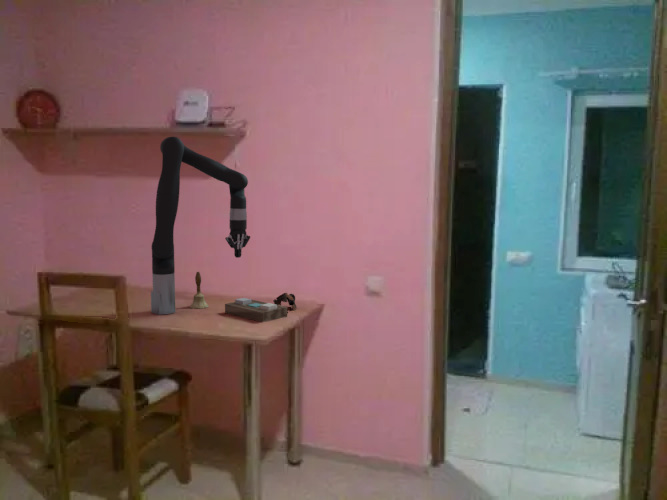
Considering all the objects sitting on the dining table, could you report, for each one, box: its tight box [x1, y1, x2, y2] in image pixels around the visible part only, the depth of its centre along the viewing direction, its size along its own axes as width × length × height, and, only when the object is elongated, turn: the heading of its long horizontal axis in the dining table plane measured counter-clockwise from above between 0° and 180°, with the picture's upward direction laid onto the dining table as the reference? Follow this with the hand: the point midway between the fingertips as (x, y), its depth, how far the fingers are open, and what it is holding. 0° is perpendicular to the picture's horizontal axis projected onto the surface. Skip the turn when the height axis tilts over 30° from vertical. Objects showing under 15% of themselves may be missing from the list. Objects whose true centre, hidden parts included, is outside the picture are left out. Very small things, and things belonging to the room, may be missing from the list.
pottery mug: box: [273, 292, 297, 311], centre depth 276 cm, size 12×10×8 cm
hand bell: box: [189, 271, 209, 310], centre depth 276 cm, size 8×8×16 cm
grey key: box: [234, 297, 253, 305], centre depth 268 cm, size 5×5×2 cm
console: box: [224, 299, 288, 323], centre depth 263 cm, size 14×24×4 cm, turn 50°
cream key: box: [260, 302, 277, 311], centre depth 258 cm, size 5×5×2 cm
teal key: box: [248, 303, 262, 308], centre depth 263 cm, size 5×5×2 cm
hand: (237, 257), depth 274 cm, fingers closed
